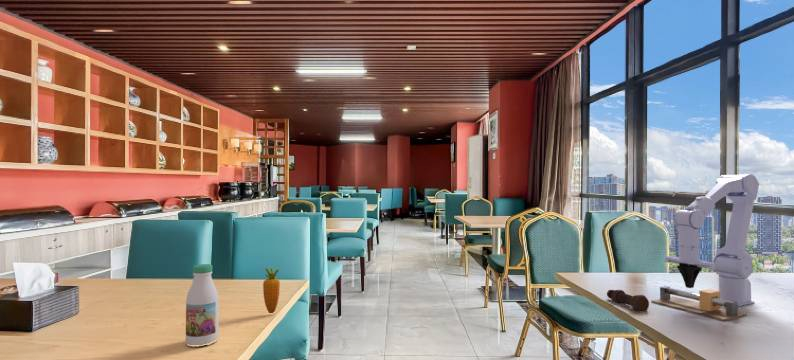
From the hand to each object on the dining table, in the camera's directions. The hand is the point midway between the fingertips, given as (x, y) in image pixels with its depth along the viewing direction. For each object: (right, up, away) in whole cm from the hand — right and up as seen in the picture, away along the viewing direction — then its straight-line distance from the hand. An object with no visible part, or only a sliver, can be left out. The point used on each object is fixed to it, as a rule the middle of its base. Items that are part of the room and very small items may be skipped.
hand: (689, 287), depth 136 cm
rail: (+1, -6, -2) cm, 7 cm away
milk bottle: (-148, -7, -29) cm, 151 cm away
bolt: (-20, -7, +3) cm, 21 cm away
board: (+1, -6, -2) cm, 7 cm away
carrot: (-137, -7, -7) cm, 137 cm away
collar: (+3, -5, -6) cm, 8 cm away
